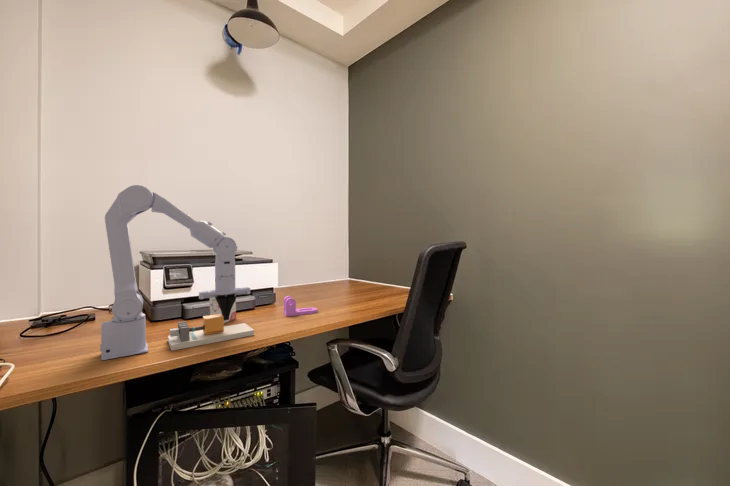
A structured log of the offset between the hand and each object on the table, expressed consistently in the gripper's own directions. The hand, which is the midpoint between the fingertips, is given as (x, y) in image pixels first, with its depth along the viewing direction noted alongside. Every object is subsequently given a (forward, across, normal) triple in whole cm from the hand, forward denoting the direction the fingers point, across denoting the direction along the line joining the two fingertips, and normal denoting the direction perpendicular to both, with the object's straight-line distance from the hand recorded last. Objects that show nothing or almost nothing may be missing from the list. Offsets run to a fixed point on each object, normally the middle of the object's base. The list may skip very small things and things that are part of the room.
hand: (225, 319), depth 96 cm
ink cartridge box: (+5, +3, +18) cm, 19 cm away
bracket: (+5, +31, +12) cm, 34 cm away
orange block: (+3, -4, 0) cm, 5 cm away
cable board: (+5, -4, 0) cm, 6 cm away
